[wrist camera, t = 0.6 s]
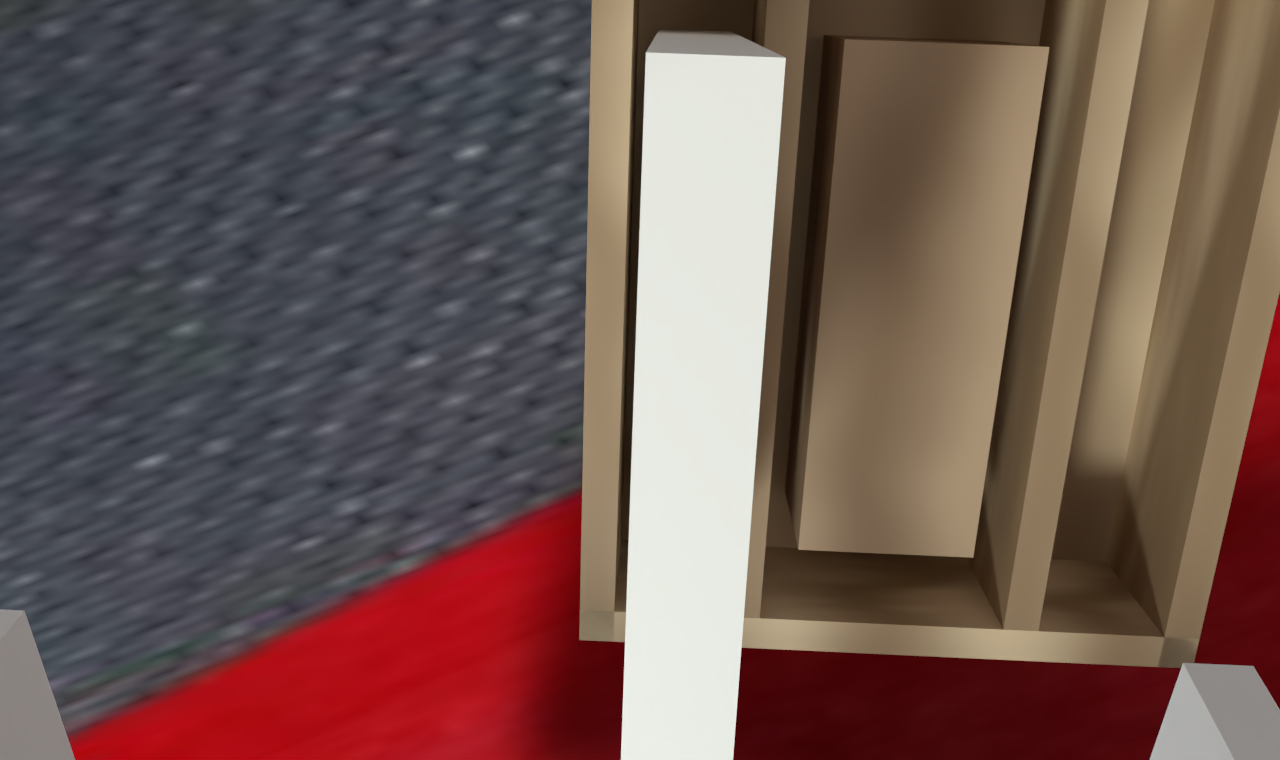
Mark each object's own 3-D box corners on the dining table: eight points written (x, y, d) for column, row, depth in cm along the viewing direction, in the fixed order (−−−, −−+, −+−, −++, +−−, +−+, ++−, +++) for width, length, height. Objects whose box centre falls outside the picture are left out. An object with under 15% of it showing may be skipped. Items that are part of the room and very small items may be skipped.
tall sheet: (730, 31, 31) (785, 58, 16) (704, 487, 35) (726, 849, 20) (659, 28, 31) (645, 51, 16) (641, 485, 35) (617, 843, 20)
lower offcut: (1003, 41, 31) (1024, 44, 29) (941, 498, 35) (956, 526, 33) (824, 34, 31) (833, 37, 29) (785, 491, 35) (791, 518, 33)
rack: (1238, -63, 31) (1364, -78, 25) (1114, 568, 38) (1192, 668, 32) (608, -85, 31) (594, -105, 26) (593, 544, 38) (579, 640, 32)
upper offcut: (1024, 44, 29) (1049, 46, 27) (956, 526, 33) (973, 557, 31) (833, 37, 29) (844, 39, 27) (791, 518, 33) (798, 549, 32)
